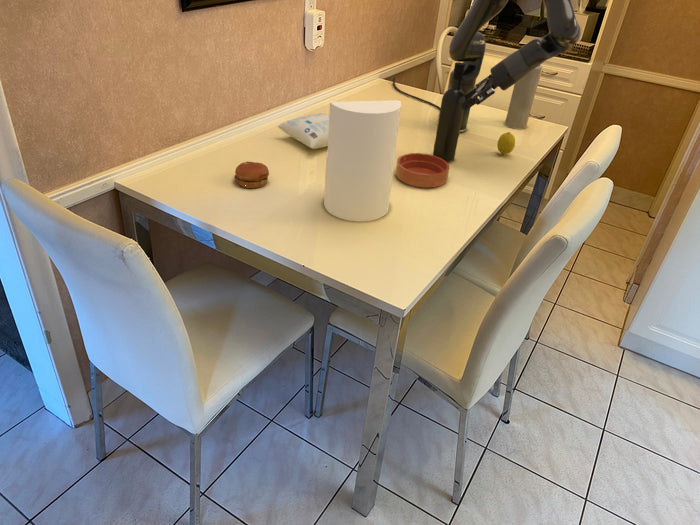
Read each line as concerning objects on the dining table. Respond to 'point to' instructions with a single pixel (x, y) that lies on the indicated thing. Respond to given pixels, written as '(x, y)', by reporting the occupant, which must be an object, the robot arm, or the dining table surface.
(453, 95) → the wine bottle
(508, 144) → the lemon
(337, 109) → the cylinder
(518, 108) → the thermos bottle
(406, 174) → the dish
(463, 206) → the dining table surface
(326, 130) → the pouch
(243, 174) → the burger
